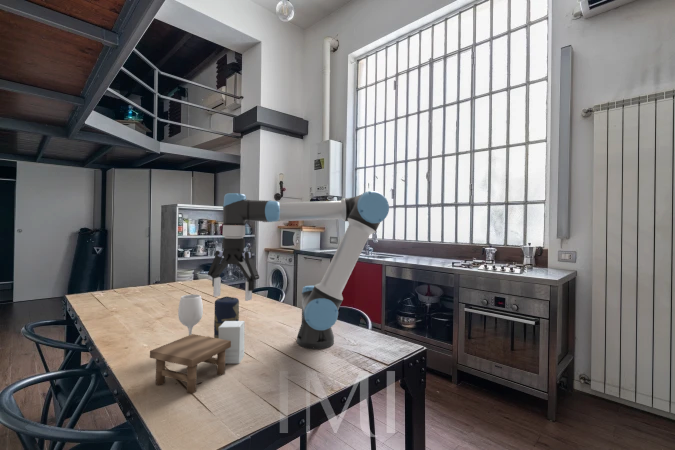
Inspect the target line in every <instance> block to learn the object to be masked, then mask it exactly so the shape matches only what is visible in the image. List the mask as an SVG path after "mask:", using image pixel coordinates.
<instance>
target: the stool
mask: <svg viewBox="0 0 675 450" xmlns="http://www.w3.org/2000/svg"><path fill="white" fill-rule="evenodd" d="M230 347H231V341H229V340H223V339H218V338H214V337H211V336H205V335H201V334H200V335H199V334H194V333H192V334H191V335H189V334H188V335H186V336H184V337H181V338H180V339H179V338H178V339H177V340H174V341H172V342H168V343H166V344H163V345H161V346H159V347H156V348H154V349H150V350H149V358H150V359H154V360H155V385H156V386H162V385H164V384H165V383H166V377H167V378H170V379H175V380H178V381H182V382H186V393H187V394H194V393H196V392H197V367H198V365H199V364H201V363H206V364H210V365H211V364H212V365H214V366H216V375H218V376H224V375H225V374H226V364H225V350H226V349H228V348H230ZM216 355H217V357H215V356H216ZM166 362H168V363H173V364H176V365H182V366H186V367H187V371H186V372H185V373H184V372H180V371H177V370H171V369H168V368H166Z"/></svg>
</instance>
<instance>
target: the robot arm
mask: <svg viewBox="0 0 675 450" xmlns="http://www.w3.org/2000/svg"><path fill="white" fill-rule="evenodd" d="M389 204H390V203H389V201H388V199H387V198H386V196H385V195H384V194H382V193H380V192H379V191H375V190H374V191H373V190H369V191H365V192H363V193H362V194H359V195H356V196H353V197H343V198H341V200H319V201H318V200H317V201H291V202H290V201H287V202H279V201H276V200H270V199H269V200H261V199H260V200H258V199H257V200H252V199H251V200H250V199H247V196H246V194H244V193H235V192H234V193H233V192H231V193H228V192H227V193H226V194H224V196H223V206H222V211H223V212H222V220H223V221H222V237H224V238H222V249H223V250H222V249H220V250H215V253H214V258H213V261H212V263H211V265H210V267H209V269H208V271H207V276H208V277H209V276H210V277H211V278H212V284H211V285H212V287H213V294H212V295H213V297H215V298H216V297H219V296H221V291H222V290H221V289H222V288H221V283H222V282H221V280H222V278H221V277H220V276H221V274H222V273H223V272H224V270H225V269H226V267H227V266H228V265H236V266H237V267H238V268H239V269H240V271H241V272H242V274H243V275H244V277H245V278H246V281H245V291H244V292H245V293H244V295H245V296H244V300H245V301H246V302H248V301H250V300H252V299H253V291H254V289H255V285H254V284H255V281H256V280H259V279H260V276H259V272H258V270H257V268H256V264H255V263H254V259H253V254H252V252H251V251H248V252H247V251H246V252H245V248H246V247H245V246H246V239H245V238H244V237H246V222H262V223H273V222H294V221H296V222H297V221H317V220H318V221H324V220H327V221H329V220H341V221H343V222H347V223H348V226H347V228H346V230H345V232H344V234H343V236H342V238H341V240H340V242H339V244H338V246H337V249H336V251H335V253H334V255H333V257H332V259H331V261H330V263H329V265H328V267H327V269H326V271H325V273H324V274H323V277H322V279H321V280H320V282H318V283H315V285H305V286H303V287H302V290H301V322H300V323H301V324H300V326H299V330H298V333H297V336H296V344H297V345H298V346H299V347H302V348H304V349H311V350H319V349H326V348H330V347H331V346H333V345H334V344H335V336H334V332H333V329H332V327H333V326H334V325H335V324H336V322H337V320H338V316H339V309H340V306H341V305H342V302H343V300H344V297H343V294H342V293H343V291H344V289H345V287H346V285H347V283H348V280H349V278H350V276H351V275H352V273H353V270H354V268H355V267H356V264H357V262H358V260H359V258H360V256H361V254H362V252H363V250H364V248H365V245H366V244H367V242H368V239H369V237H370V236H371V235H372V234H375V233H376V232H377V230H378V228H379V226H380V223H382V222H383V221H385V219H386V218H387V216H388V215H389V211H390V205H389Z"/></svg>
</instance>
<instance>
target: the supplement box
mask: <svg viewBox="0 0 675 450" xmlns="http://www.w3.org/2000/svg"><path fill="white" fill-rule="evenodd" d="M218 329H219V339H223V340H229V341H231V347H230V348H228V349H226V350H225V365H226V364H240V363H241V361H242V360H243V358H244V357H245V320H239V321H225V322H224V323H222V325H221V326H219V327H218Z"/></svg>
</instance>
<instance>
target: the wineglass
mask: <svg viewBox="0 0 675 450" xmlns="http://www.w3.org/2000/svg"><path fill="white" fill-rule="evenodd" d="M203 307H204V305H203V300H202V295H200V294H198V293H197V294H194V293H193V294H185V295H182V296H180V299H179V303H178V308H177V309H178V310H177V312H178V313H177V316H178V317H177V318H178V320H179V322H180V323H181V324H182V325H183V326H185V327H186V328H187V329H188V336H189V335H191V334H193V328H194V327H195V326H196V325H197V324H199V322H200V321H201V320H202V319H203V318H202V317H203V312H204V308H203Z"/></svg>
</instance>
